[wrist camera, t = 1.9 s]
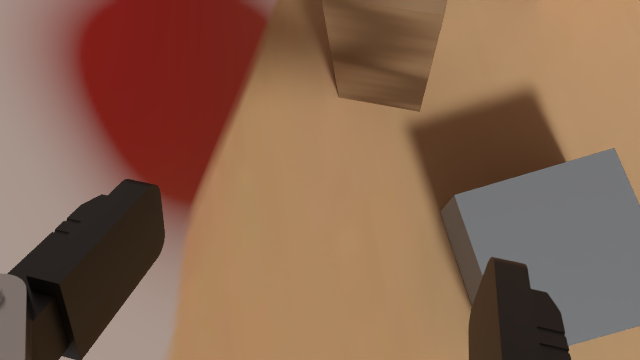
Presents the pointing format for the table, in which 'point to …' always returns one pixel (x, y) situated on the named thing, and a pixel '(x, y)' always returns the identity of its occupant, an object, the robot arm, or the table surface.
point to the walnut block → (383, 48)
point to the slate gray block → (559, 239)
